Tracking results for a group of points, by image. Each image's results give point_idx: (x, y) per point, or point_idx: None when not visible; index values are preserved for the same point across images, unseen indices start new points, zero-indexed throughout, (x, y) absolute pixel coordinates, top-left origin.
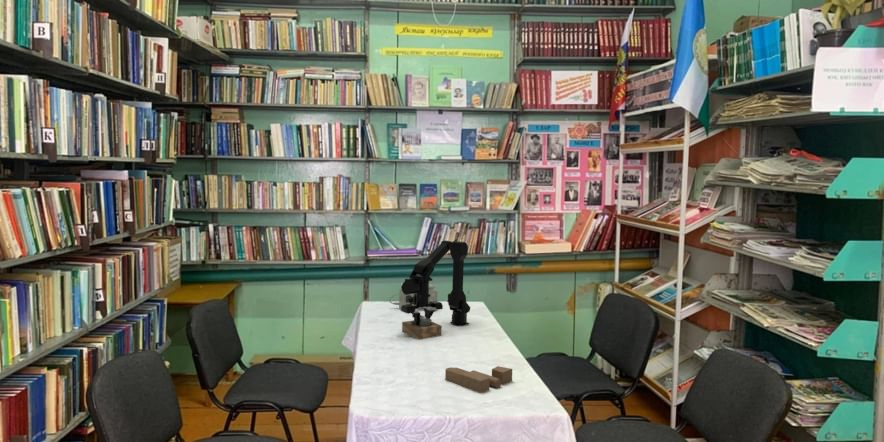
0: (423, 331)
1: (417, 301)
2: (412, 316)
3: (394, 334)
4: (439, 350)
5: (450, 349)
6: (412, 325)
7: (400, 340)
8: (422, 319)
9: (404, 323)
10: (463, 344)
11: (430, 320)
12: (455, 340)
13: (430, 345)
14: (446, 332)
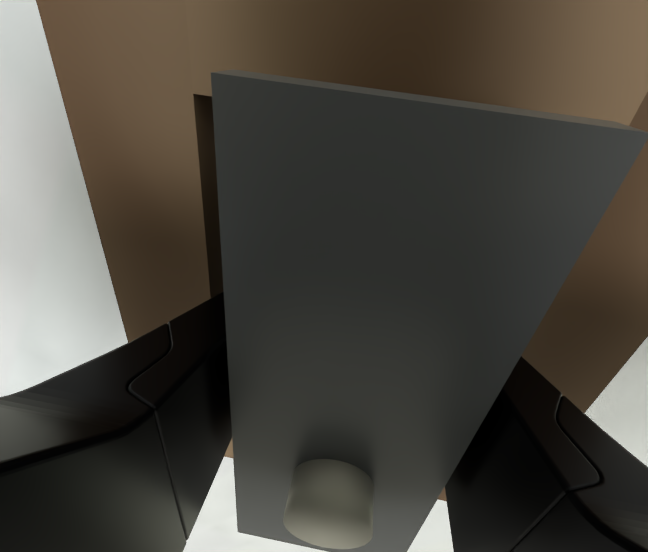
0: None
1: None
2: (222, 83)
3: (4, 18)
4: (217, 521)
5: (279, 541)
6: (150, 299)
7: (39, 279)
8: (263, 491)
9: (53, 31)
10: (408, 549)
11: (370, 548)
12: (442, 504)
13: (219, 467)
14: (637, 367)
